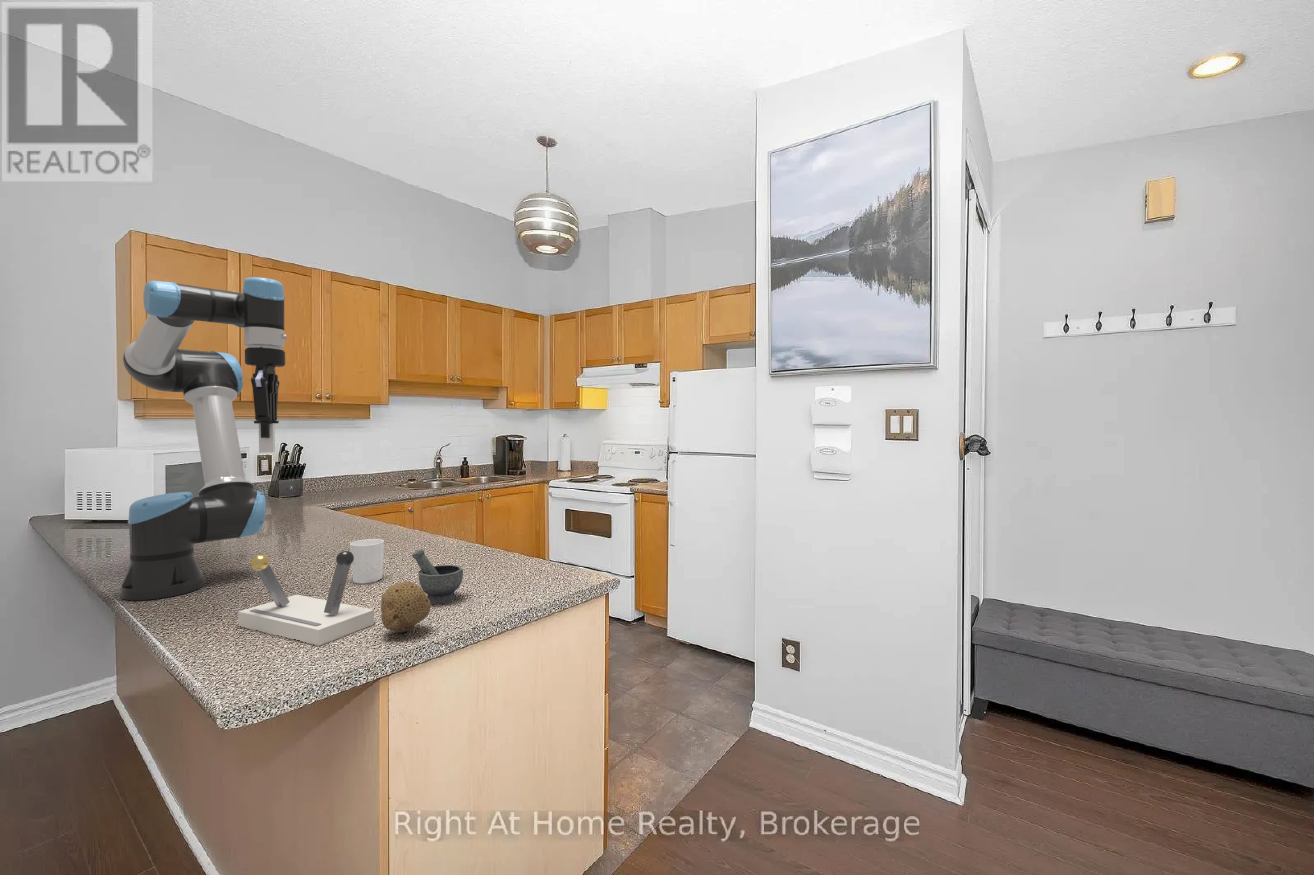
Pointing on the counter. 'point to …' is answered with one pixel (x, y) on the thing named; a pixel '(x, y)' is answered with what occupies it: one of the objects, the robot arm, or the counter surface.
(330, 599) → the black lever
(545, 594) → the counter surface
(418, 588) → the natural sponge
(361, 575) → the white cup
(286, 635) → the control panel
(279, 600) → the brass lever
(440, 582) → the mortar and pestle
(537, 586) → the counter surface
